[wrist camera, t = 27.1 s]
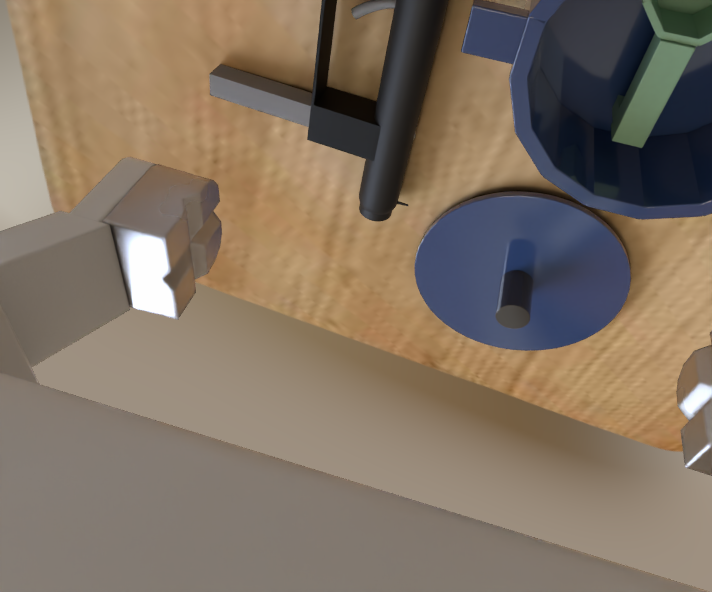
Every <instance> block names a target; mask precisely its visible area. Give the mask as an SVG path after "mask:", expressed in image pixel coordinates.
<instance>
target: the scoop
mask: <svg viewBox="0 0 712 592" xmlns="http://www.w3.org/2000/svg"><path fill="white" fill-rule="evenodd" d="M642 4H643V6H644V9H645V11H646V13H647V16H648V18H649V20H650V22H651V25H652V27H653V29H654V31H655V34H654V36H653V38H652V40H651V43H650V45H649V47H648V49H647V51H646V53H645V55H644V57H643V59H642V61H641V63H640V66H639V68H638V70H637V72H636V74H635V76H634V78H633V80H632V82H631V84H630V86H629V89H628V91H627V93H626V95H625V96H621V95H618V97H617V99H616V101H615V103H614V105H613V107H612V120H613V122H612V124H611V137H612V141H615V142H619V143H623V144H627V145H631V146H636V147H640V148H642V147H643V146H644V144H645V142H646V140H647V138H648V136H649V134H650V133H651V131H652V129H653V127H654V125H655V123H656V121H657V120H658V118H659V116H660V114H661V112H662V110H663V108H664V107H665V105H666V103H667V101H668V99H669V97H670V95H671V94H672V92H673V90H674V88H675V86H676V84H677V82H678V81H679V79H680V77H681V75H682V73H683V71H684V69H685V68H686V66H687V64H688V62H689V60H690V58H691V56H692V54H693V53H694V51H695V46H696V47H697V46H698V45H699V46H701V45H703V44H706V43H708V42H710V41H712V0H642Z"/></svg>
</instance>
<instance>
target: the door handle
mask: <svg viewBox="0 0 712 592" xmlns="http://www.w3.org/2000/svg"><path fill="white" fill-rule="evenodd" d="M448 1H449V0H371V1H368V2H365V3H362V4H360V5H358V6H356V7H354V8H352V10H351V11H352V15H353V16H354V18H355V19H358V18H360V17H362V16H364V15H366V14H368V13H371V12H374V11H377V10H381V9H388V8H395V9H394V14H393V20H392V25H391V30H390V35H389V41H388V46H387V51H386V56H385V62H384V67H383V72H382V77H381V83H380V88H379V93H378V98H377V102H375V101H372V100H368V99H365V98H362V97H359V96H356V95H353V94H349V93H346V92H343V91H340V90H337V89H334V88H330V87H327V79H328V70H329V62H330V54H331V46H332V37H333V29H334V21H335V12H336V4H337V0H322V5H321V15H320V24H319V34H318V44H317V54H316V63H315V73H314V83H313V92H312V93H310V92H307V91H304V90H300V89H297V88H294V87H291V86H288V85H285V84H282V83H278V82H275V81H272V80H269V79H266V78H263V77H259V76H256V75H253V74H250V73H247V72H244V71H241V70H237V69H234V68H231V67H228V66H225V65H222V64H220V65H219V66H218V67H217V68H216V69H214V70H213V71H212V72H211V73H210V95H212V96H215V97H218V98H221V99H224V100H227V101H230V102H233V103H236V104H239V105H243V106H246V107H249V108H252V109H255V110H258V111H261V112H264V113H267V114H270V115H273V116H276V117H280V118H283V119H286V120H289V121H292V122H295V123H298V124H301V125H304V126H307V127H309V129H308V139H307V140H310V141H313V142H316V143H319V144H322V145H325V146H329V147H332V148H335V149H338V150H341V151H344V152H347V153H350V154H353V155H356V156H359V157H362V158H365V159H366V161H365V166H364V171H363V177H362V182H361V187H360V192H359V199H360V207H359V210H360V213H361V214H362V215H363V216H364V217H365V218H367V219H369V220H372V221H384V220H386V219H388V218H389V217H390V216H391V213H392V210H393V209H394V208H395V206H396V204H401V205H406V206H408V204H405V203H402V202H399V201H398V198H399V194H400V190H401V186H402V182H403V178H404V175H405V171H406V167H407V163H408V159H409V155H410V151H411V147H412V143H413V139H415V137H416V134H415V131H416V127H417V123H418V119H419V115H420V111H421V107H422V103H423V100H424V96H425V92H426V88H427V84H428V80H429V76H430V72H431V68H432V64H433V60H434V56H435V52H436V48H437V44H438V40H439V36H440V32H441V28H442V25H443V21H444V17H445V13H446V9H447V5H448Z"/></svg>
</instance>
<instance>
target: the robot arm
mask: <svg viewBox="0 0 712 592" xmlns="http://www.w3.org/2000/svg"><path fill="white" fill-rule="evenodd" d="M219 202H220V198H219V188H218V184H217V183H216V182H215V181H214V180H211V179H207V178H204V177H201V176H197V175H194V174H190V173H187V172H183V171H180V170H177V169H173V168H170V167H166V166H163V165H159V164H158V165H157V164H154V163H151V162H147V161H144V160H140V159H137V158H133V157H127V158H124V159H122V160H120V161H119V162H118V163H117V164H116V165H115V167H114V168H113V169H112V170H111V171H110V172H109V173H108V174H107V175H106V176H105V177H104V178H103V179H102V180H101V181H100V182H99V183H98V184H97V185H96V186H95V187H94V188H93V189H92V190H91V191H90V192H89V193H88V194H87V195H86V196H85V197H84V198H83V199H82V201H81V202H80V203H79V204H78V205H77V206H76V207H75V208H74V209H73V210H72V211H71V212H70V213H67V212H63V211H59V212H56V213H53V214H50V215H47V216H44V217H41V218H38V219H35V220H32V221H29V222H26V223H23V224H20V225H17V226H14V227H11V228H9V229H6V230H3V231H0V592H709V591H706V590H703V589H700V588H696V587H693V586H690V585H687V584H683V583H680V582H677V581H674V580H671V579H667V578H664V577H661V576H658V575H654V574H651V573H648V572H645V571H641V570H638V569H635V568H631V567H628V566H625V565H622V564H619V563H615V562H612V561H609V560H606V559H602V558H599V557H596V556H593V555H589V554H586V553H583V552H580V551H576V550H573V549H570V548H567V547H563V546H560V545H557V544H554V543H551V542H547V541H544V540H541V539H538V538H535V537H531V536H528V535H525V534H522V533H518V532H515V531H512V530H509V529H505V528H502V527H499V526H495V525H492V524H489V523H486V522H482V521H480V520H476V519H473V518H469V517H467V516H463V515H460V514H457V513H454V512H450V511H447V510H444V509H441V508H437V507H434V506H431V505H428V504H424V503H421V502H418V501H415V500H412V499H408V498H405V497H402V496H399V495H395V494H392V493H389V492H386V491H382V490H379V489H376V488H372V487H369V486H366V485H363V484H360V483H357V482H353V481H350V480H347V479H344V478H340V477H337V476H334V475H331V474H327V473H324V472H321V471H318V470H315V469H311V468H308V467H305V466H302V465H298V464H295V463H292V462H289V461H285V460H282V459H279V458H275V457H272V456H269V455H266V454H263V453H260V452H256V451H253V450H250V449H247V448H243V447H240V446H237V445H234V444H230V443H227V442H224V441H221V440H217V439H214V438H211V437H208V436H205V435H201V434H198V433H195V432H192V431H188V430H185V429H182V428H179V427H175V426H172V425H169V424H166V423H163V422H159V421H156V420H153V419H150V418H147V417H143V416H140V415H137V414H134V413H130V412H127V411H124V410H121V409H118V408H114V407H111V406H108V405H105V404H101V403H98V402H95V401H92V400H88V399H85V398H82V397H79V396H76V395H72V394H69V393H66V392H63V391H59V390H56V389H53V388H50V387H46V386H43V385H40V384H39V382H38V380H37V378H36V376H35V374H34V371H33V369H32V367H33V366H35V365H36V364H38V363H40V362H42V361H44V360H45V359H47V358H48V357H50V356H52V355H54V354H55V353H57V352H58V351H61V350H62V349H64V348H66V347H67V346H69V345H71V344H72V343H74V342H76V341H77V340H79V339H81V338H83V337H84V336H86V335H88V334H90V333H91V332H93V331H95V330H96V329H98V328H100V327H101V326H103V325H105V324H107V323H108V322H110V321H112V320H113V319H115V318H117V317H119V316H120V315H122V314H124V313H125V312H127V311H129V310H130V307H132V308H136V309H139V310H143V311H147V312H151V313H155V314H158V315H162V316H166V317H170V318H174V319H179V317H180V316H181V314H182V313H183V311H184V310H185V308H186V307H187V305H188V303H189V302H190V300H191V299H192V297H193V296H194V294H195V293H196V287H195V279H197V278H199V277H201V276H204V275H206V274H208V272H209V270H210V269H211V267H212V265H213V264H214V262H215V260H216V257H217V254H218V251H219V248H220V244H221V235H222V228H221V221H220V220H219V218H218V217H217V215H216V214H215V213H214V211H213V210H214V209H215V207H216V206H217V205H218V203H219ZM710 337H711V343H712V331H711V332H710ZM677 403H678V407H679V408H680V410H681V411H682V412H683V414H684V415H685V416H686V417H687V419H688V420H689V422H688V423H687V424H686V425H685V426H684V427H683V428H682V429H681V438H682V446H683V454H684V462H685V467H686V468H689V469H692V470H695V471H699V472H702V473H705V474H708V475H711V476H712V345H710V346H707V347H704V348H701V349H698V350H695V351H694V352H693V353H692V355H691V356H690V357H689V358H688V360H687V361H686V362H685V363H684V365H683V368H682V370H681V373H680V376H679V378H678V384H677Z"/></svg>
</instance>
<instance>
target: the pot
mask: <svg viewBox="0 0 712 592" xmlns="http://www.w3.org/2000/svg"><path fill="white" fill-rule="evenodd" d="M654 34H655V31H654V29H653V27H652V25H651V22H650V20H649V18H648V16H647V13H646V11H645V9H644V6H643V4H642V0H527V1H526V4H525V7H524V9H521V8H516V7H512V6H507V5H503V4H498V3H494V2H489V1H485V0H474V2H473V5H472V9H471V13H470V17H469V21H468V25H467V29H466V33H465V37H464V41H463V45H462V49H461V52H463V53H467V54H471V55H476V56H480V57H484V58H489V59H493V60H497V61H501V62H506V63H510V64H512V66H511V71H510V77H509V82H510V91H511V100H512V109H513V118H514V128H515V132H516V135H517V136H518V138H519V140H520V141H521V143H522V144H523V146H524V148H525V149H526V151H527V153H528V154H529V156H530V157H531V159H532V161H533V162H534V164H535V166H536V167H537V169H538V170H539V172H540V174H541V175H542V176H543V177H544V178H546V179H547V180H548V181H550V182H551V183H553V184H554V185H556V186H557V187H559V188H560V189H562V190H563V191H564V192H566V193H567V194H569V195H570V196H572V197H573V198H575V199H576V200H578V201H579V202H580V203H582V204H583V205H586V206H588V207H592V208H596V209H600V210H604V211H608V212H612V213H616V214H620V215H624V216H628V217H632V218H636V219H662V218H681V217H700V216H706V215H709V214H712V41H710V42H708V43H706V44H703V45H701V46H699V45H698V46H697V47H696V46H695V51H694V53H693V54H692V56H691V58H690V60H689V62H688V64H687V66H686V68H685V69H684V71H683V73H682V75H681V77H680V79H679V81H678V82H677V84H676V86H675V88H674V90H673V92H672V94H671V95H670V97H669V99H668V101H667V103H666V105H665V107H664V108H663V110H662V112H661V114H660V116H659V118H658V120H657V121H656V123H655V125H654V127H653V129H652V131H651V133H650V134H649V136H648V138H647V140H646V142H645V144H644V146H643V147H642V148H640V147H636V146H631V145H627V144H623V143H619V142H615V141H612V137H611V124H612V122H613V120H612V107H613V105H614V103H615V101H616V99H617V97H618V95H621V96H625V95H626V93H627V91H628V89H629V86H630V84H631V82H632V80H633V78H634V76H635V74H636V72H637V70H638V68H639V66H640V63H641V61H642V59H643V57H644V55H645V53H646V51H647V49H648V47H649V45H650V43H651V40H652V38H653V36H654Z"/></svg>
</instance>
